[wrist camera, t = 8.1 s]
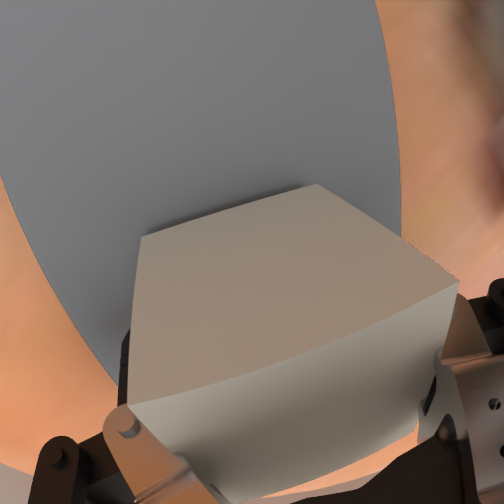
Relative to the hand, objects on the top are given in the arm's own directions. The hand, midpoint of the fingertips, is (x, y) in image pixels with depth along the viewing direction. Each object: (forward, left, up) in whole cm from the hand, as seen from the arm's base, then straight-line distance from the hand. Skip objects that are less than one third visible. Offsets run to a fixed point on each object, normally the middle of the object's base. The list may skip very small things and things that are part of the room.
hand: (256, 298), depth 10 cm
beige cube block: (0, 0, -1) cm, 1 cm away
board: (0, -7, -3) cm, 8 cm away
